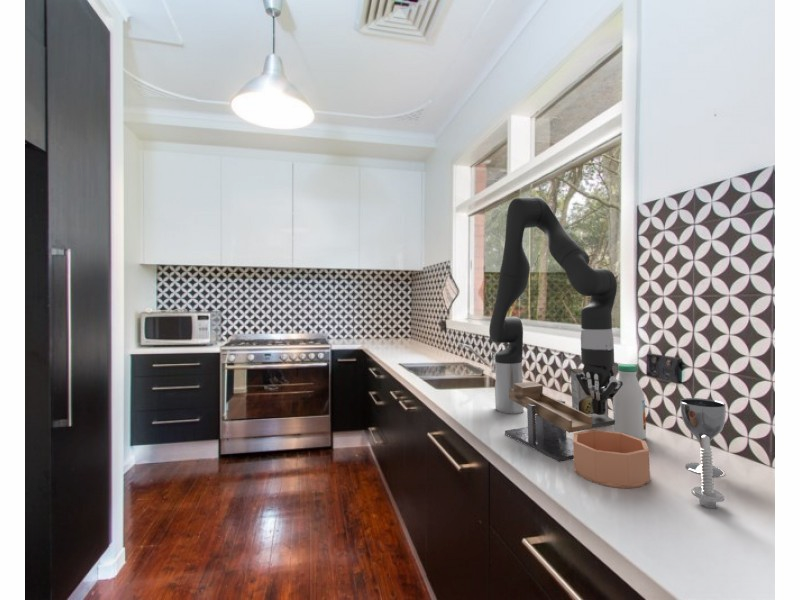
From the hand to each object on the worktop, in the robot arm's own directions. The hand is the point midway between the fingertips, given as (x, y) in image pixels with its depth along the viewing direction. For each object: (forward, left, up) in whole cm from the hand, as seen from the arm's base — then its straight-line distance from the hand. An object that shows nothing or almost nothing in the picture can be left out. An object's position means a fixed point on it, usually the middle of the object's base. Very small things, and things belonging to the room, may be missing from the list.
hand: (599, 413), depth 99 cm
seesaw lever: (-10, -5, -1) cm, 11 cm away
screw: (+28, -4, -10) cm, 29 cm away
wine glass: (+18, +11, -10) cm, 23 cm away
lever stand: (-9, -9, -9) cm, 16 cm away
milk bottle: (-4, +15, -10) cm, 19 cm away
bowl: (+11, -9, -9) cm, 16 cm away
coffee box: (-20, +17, -10) cm, 29 cm away
